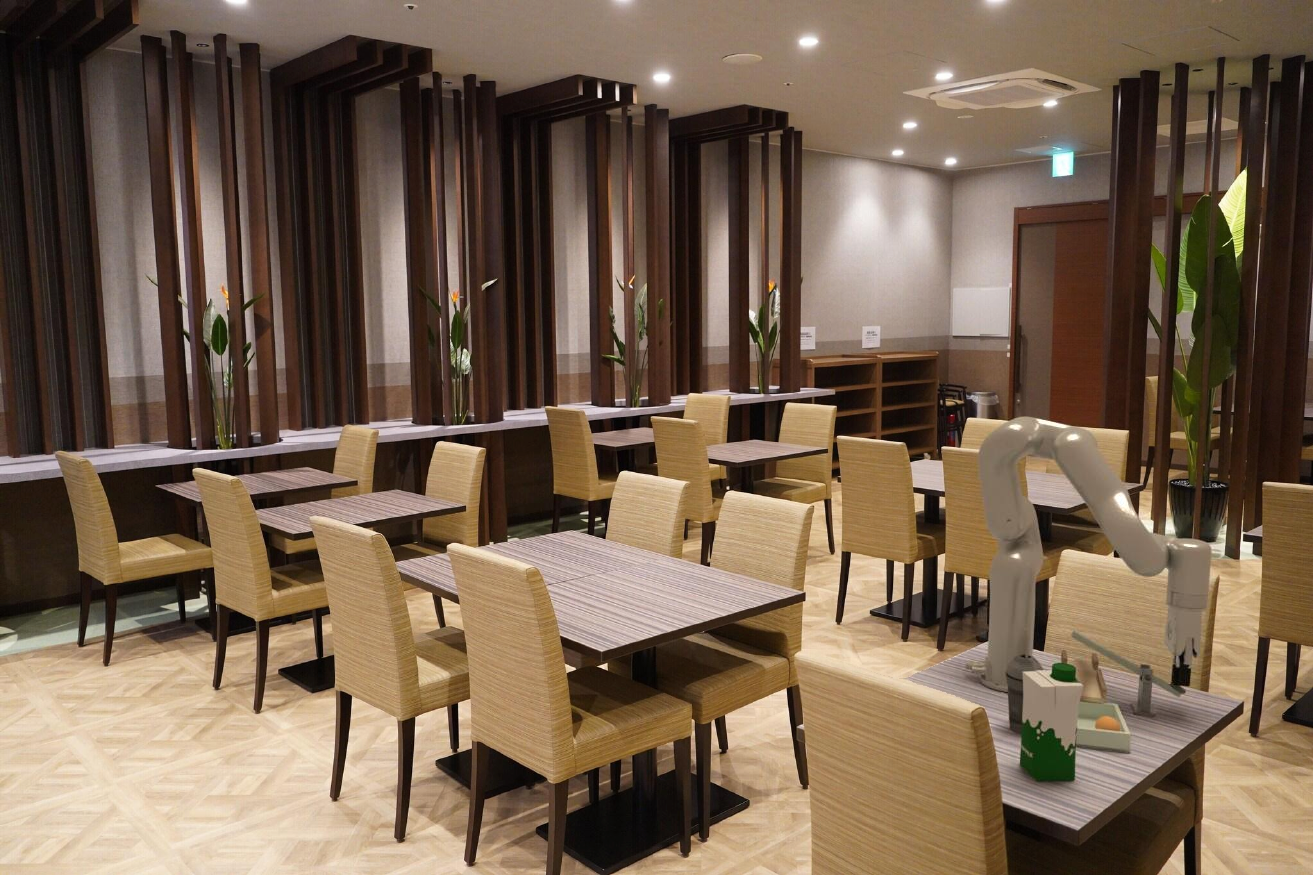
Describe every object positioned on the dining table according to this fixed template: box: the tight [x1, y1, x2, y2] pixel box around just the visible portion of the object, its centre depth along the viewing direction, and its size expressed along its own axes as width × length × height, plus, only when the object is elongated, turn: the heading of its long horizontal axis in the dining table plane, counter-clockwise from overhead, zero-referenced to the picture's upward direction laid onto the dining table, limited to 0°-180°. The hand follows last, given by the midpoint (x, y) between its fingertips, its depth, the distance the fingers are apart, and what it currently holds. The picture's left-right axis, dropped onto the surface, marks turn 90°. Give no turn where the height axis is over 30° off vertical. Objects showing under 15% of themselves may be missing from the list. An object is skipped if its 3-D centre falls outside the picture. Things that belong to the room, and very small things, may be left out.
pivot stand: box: [1130, 663, 1157, 718], centre depth 207 cm, size 4×5×10 cm
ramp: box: [1060, 650, 1108, 703], centre depth 209 cm, size 7×16×10 cm, turn 164°
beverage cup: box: [1006, 636, 1044, 736], centre depth 196 cm, size 7×7×20 cm
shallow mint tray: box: [1076, 700, 1132, 754], centre depth 196 cm, size 12×15×4 cm
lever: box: [1070, 630, 1187, 698], centre depth 208 cm, size 25×3×2 cm, turn 74°
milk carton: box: [1019, 662, 1084, 783], centre depth 178 cm, size 9×9×20 cm
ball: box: [1095, 716, 1120, 732], centre depth 192 cm, size 4×4×4 cm
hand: (1180, 684), depth 205 cm, fingers closed
